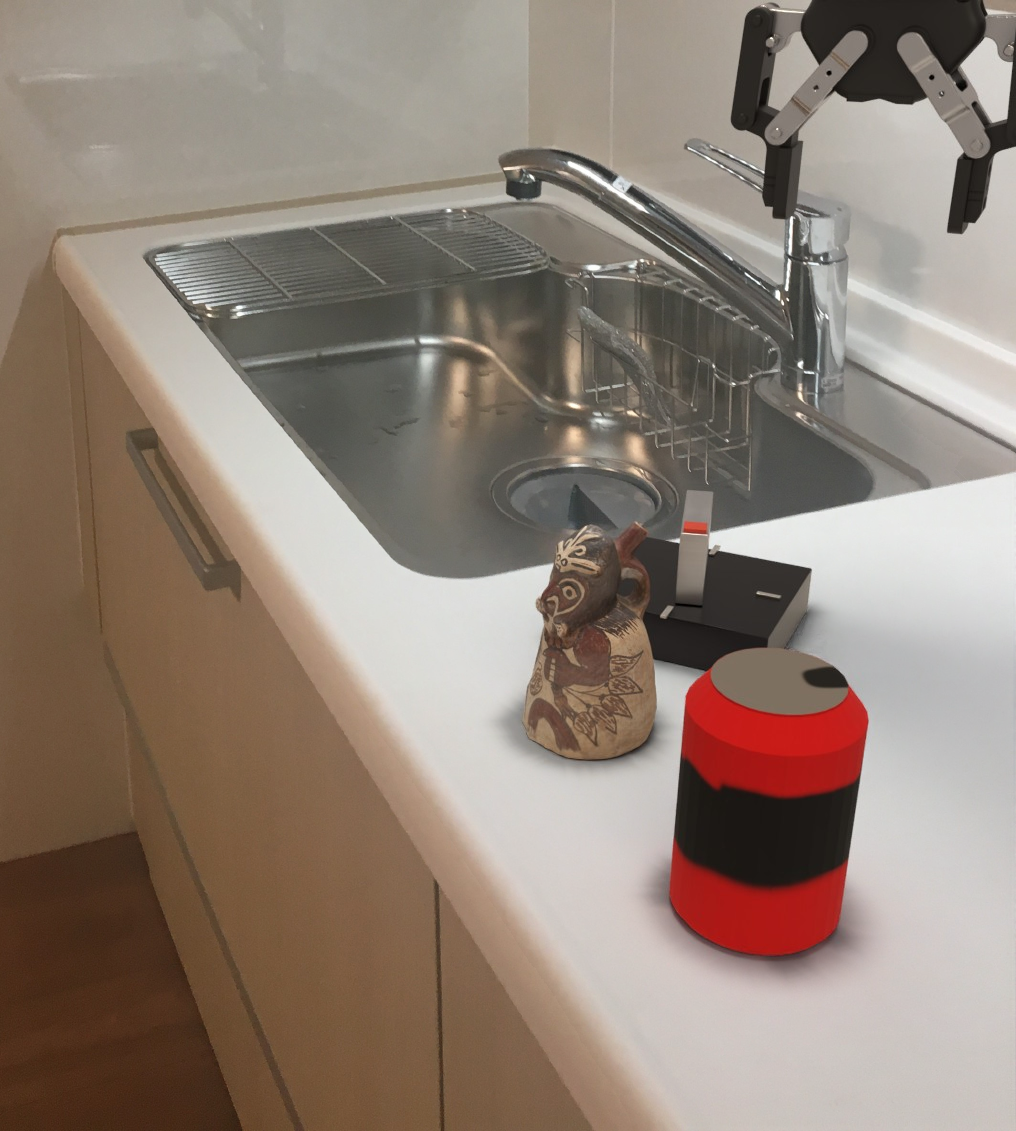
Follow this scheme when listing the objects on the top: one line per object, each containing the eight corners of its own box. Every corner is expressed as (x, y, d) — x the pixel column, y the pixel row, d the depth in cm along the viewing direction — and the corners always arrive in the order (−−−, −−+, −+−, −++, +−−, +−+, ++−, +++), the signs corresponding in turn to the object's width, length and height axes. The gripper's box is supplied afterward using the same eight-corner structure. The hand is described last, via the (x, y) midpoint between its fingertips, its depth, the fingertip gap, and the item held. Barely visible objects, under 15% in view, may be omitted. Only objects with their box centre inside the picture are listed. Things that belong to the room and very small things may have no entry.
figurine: (511, 696, 88) (516, 505, 83) (632, 687, 89) (645, 496, 84) (540, 765, 82) (548, 562, 77) (671, 754, 82) (687, 552, 77)
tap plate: (808, 608, 97) (814, 563, 95) (761, 686, 88) (766, 638, 87) (624, 571, 102) (626, 527, 101) (563, 641, 94) (566, 594, 93)
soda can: (865, 954, 68) (902, 721, 63) (695, 966, 68) (717, 732, 62) (805, 850, 75) (833, 632, 69) (649, 861, 74) (666, 642, 69)
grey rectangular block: (681, 556, 97) (687, 485, 95) (707, 558, 97) (713, 487, 94) (674, 603, 91) (680, 529, 89) (702, 606, 91) (709, 531, 89)
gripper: (1090, -132, 71) (1029, 219, 78) (778, -127, 78) (748, 196, 85) (1070, -123, 65) (1007, 255, 72) (735, -118, 72) (707, 227, 79)
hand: (867, 223), depth 79 cm, fingers open, 8 cm apart
